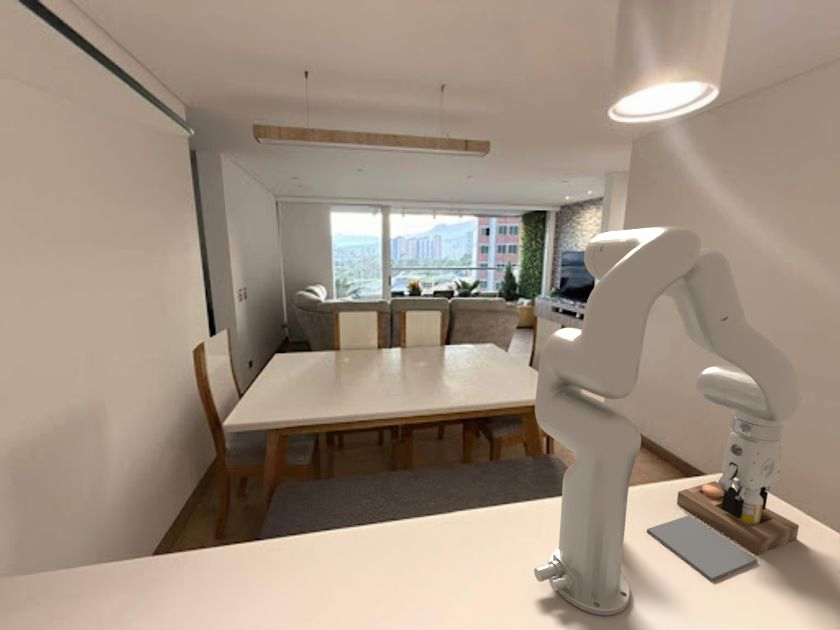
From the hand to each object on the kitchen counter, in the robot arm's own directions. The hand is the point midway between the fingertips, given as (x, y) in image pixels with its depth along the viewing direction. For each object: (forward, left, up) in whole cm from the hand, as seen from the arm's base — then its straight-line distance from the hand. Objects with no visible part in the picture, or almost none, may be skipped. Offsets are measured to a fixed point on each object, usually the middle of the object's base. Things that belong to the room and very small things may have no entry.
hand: (743, 508), depth 73 cm
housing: (0, +2, -4) cm, 4 cm away
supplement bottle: (0, 0, -4) cm, 4 cm away
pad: (-14, -1, -4) cm, 15 cm away
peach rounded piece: (0, +6, -3) cm, 7 cm away
